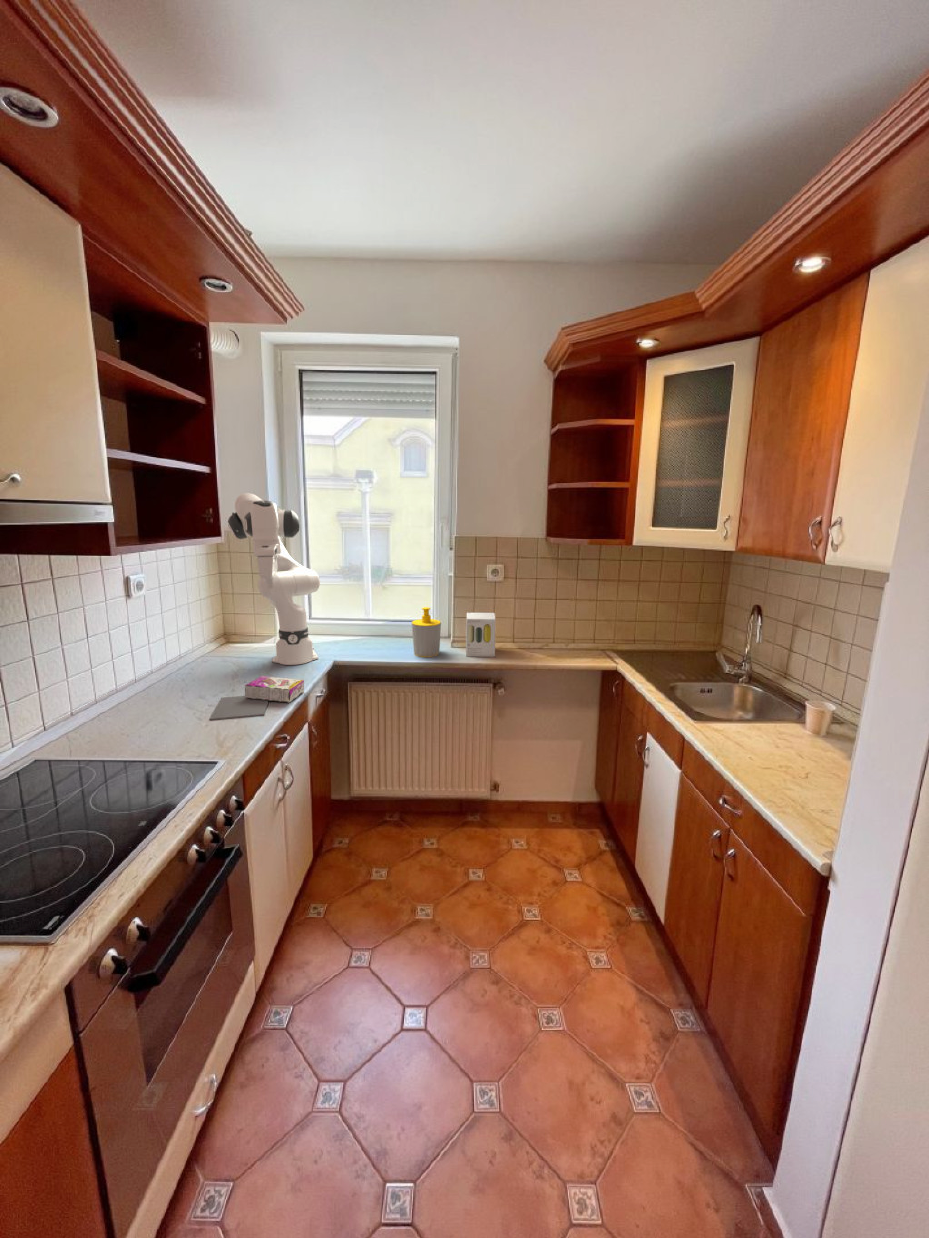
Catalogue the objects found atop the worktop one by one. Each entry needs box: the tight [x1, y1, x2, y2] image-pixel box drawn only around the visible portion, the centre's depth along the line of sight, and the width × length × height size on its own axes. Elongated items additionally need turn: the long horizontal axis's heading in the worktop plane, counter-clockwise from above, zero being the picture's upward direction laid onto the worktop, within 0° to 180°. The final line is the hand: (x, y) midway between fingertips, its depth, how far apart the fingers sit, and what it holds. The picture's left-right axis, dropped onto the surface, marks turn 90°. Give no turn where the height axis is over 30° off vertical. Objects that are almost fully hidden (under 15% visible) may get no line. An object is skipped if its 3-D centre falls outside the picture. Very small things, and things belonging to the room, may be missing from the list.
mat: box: [209, 695, 270, 721], centre depth 167 cm, size 18×16×1 cm
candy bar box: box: [244, 675, 305, 703], centre depth 176 cm, size 11×5×16 cm
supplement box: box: [465, 612, 496, 658], centre depth 228 cm, size 13×13×18 cm
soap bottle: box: [411, 606, 442, 658], centre depth 226 cm, size 13×13×21 cm
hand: (270, 587), depth 177 cm, fingers closed
